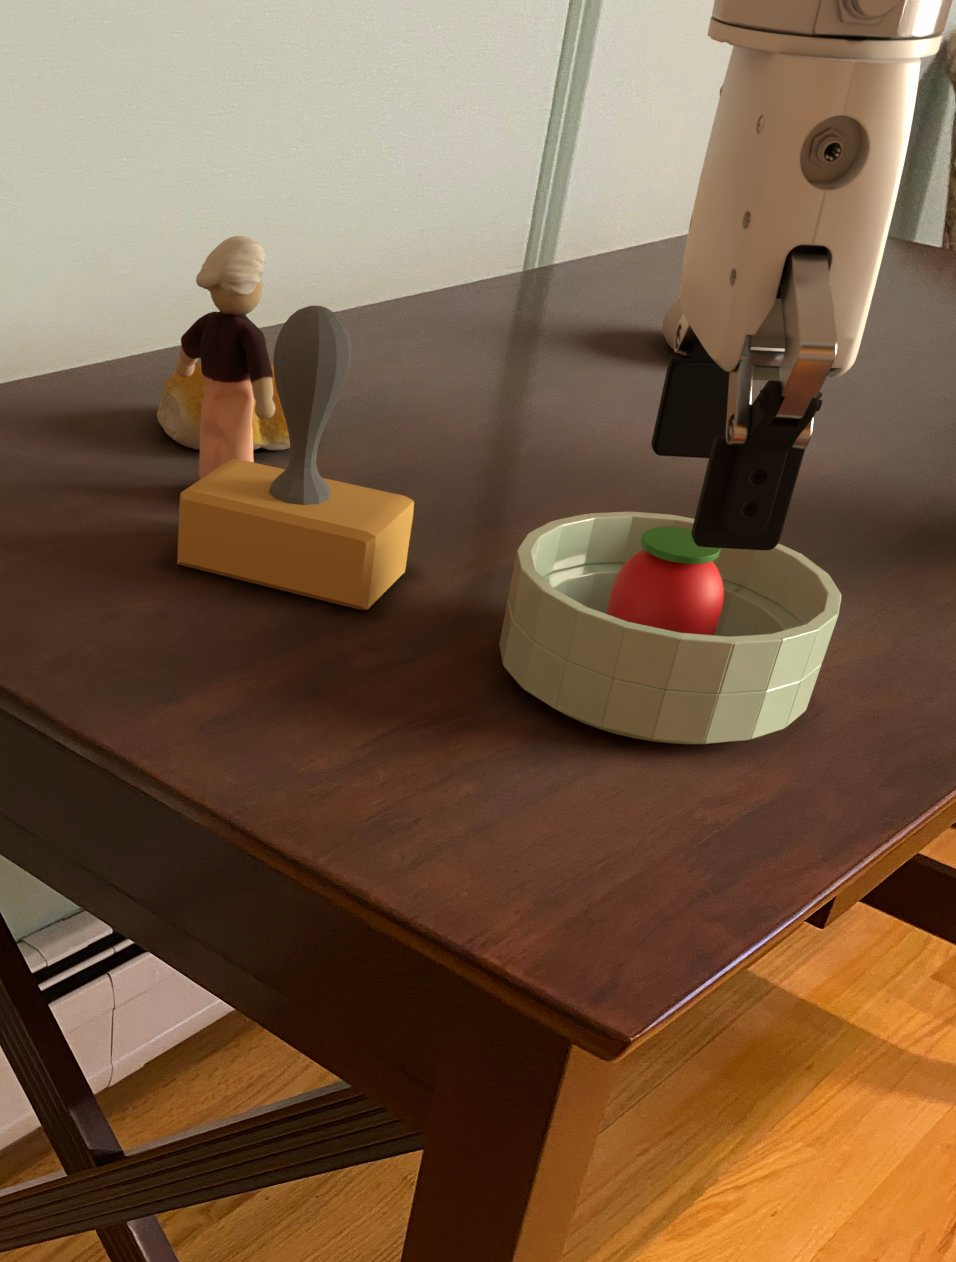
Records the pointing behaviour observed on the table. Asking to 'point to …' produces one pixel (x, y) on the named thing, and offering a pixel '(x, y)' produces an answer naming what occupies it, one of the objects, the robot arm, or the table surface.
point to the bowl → (664, 636)
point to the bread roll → (185, 409)
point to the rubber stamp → (299, 493)
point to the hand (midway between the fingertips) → (708, 497)
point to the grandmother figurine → (229, 354)
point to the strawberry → (669, 584)
